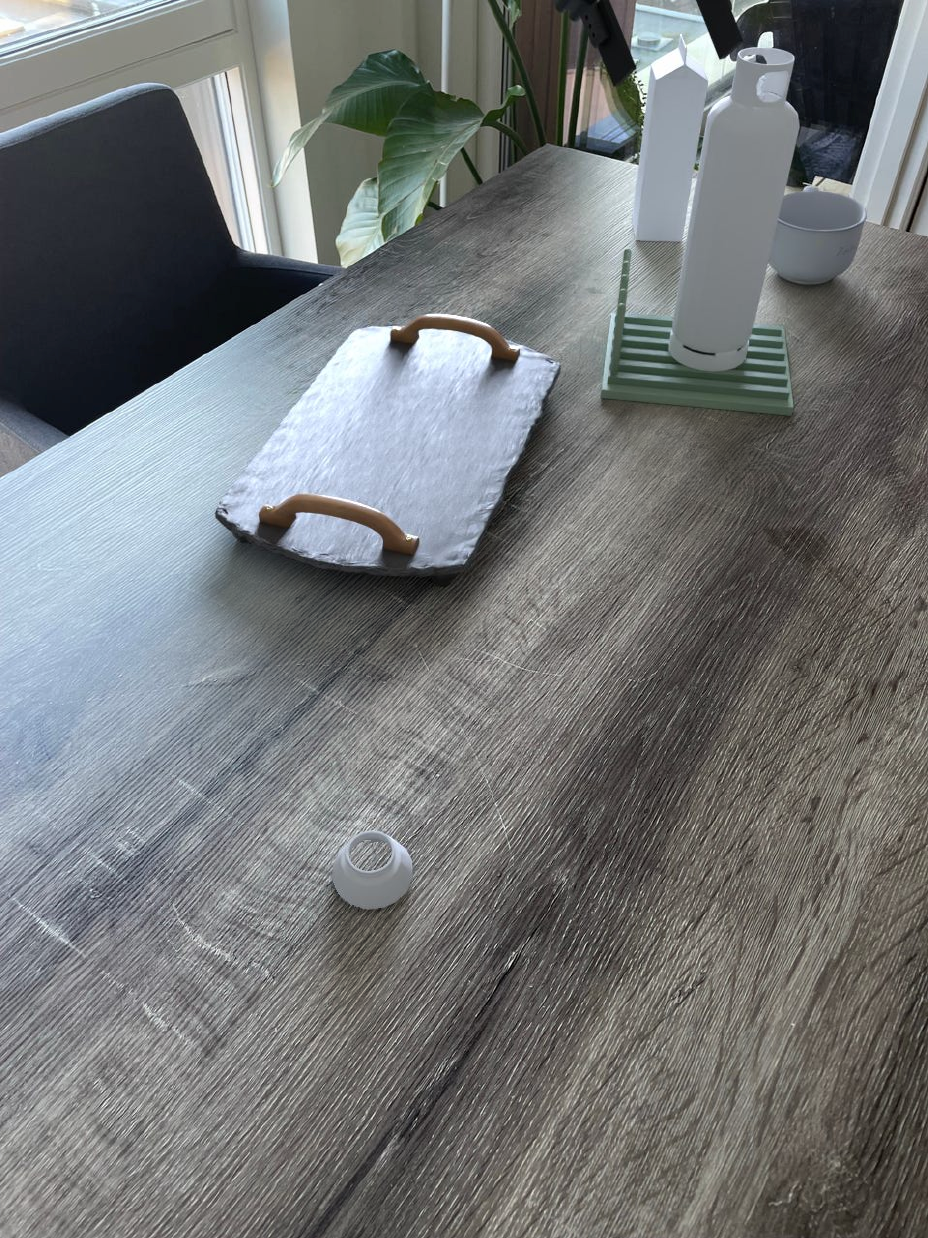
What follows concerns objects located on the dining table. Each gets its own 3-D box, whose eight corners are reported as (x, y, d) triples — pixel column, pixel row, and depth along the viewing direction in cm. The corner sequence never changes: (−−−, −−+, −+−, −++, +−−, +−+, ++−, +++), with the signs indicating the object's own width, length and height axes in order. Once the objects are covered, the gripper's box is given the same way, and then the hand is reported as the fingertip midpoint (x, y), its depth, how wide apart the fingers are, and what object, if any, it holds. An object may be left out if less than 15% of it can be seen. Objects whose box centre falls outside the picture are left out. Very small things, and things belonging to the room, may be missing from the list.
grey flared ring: (411, 840, 65) (334, 844, 65) (409, 814, 63) (330, 818, 63) (414, 910, 62) (332, 915, 61) (412, 885, 59) (328, 890, 59)
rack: (782, 335, 110) (803, 253, 104) (791, 416, 99) (815, 330, 93) (610, 320, 113) (619, 239, 106) (600, 398, 101) (610, 313, 95)
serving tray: (366, 336, 110) (362, 283, 105) (571, 371, 105) (576, 317, 101) (196, 560, 84) (182, 502, 80) (458, 620, 79) (458, 562, 75)
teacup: (845, 300, 116) (865, 233, 110) (750, 285, 118) (765, 219, 113) (852, 249, 125) (871, 185, 120) (765, 236, 128) (779, 173, 122)
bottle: (688, 376, 101) (745, 74, 81) (655, 336, 107) (701, 45, 87) (760, 364, 103) (833, 66, 83) (724, 326, 108) (785, 37, 88)
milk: (676, 222, 131) (707, 33, 115) (682, 242, 127) (715, 49, 111) (630, 220, 131) (654, 32, 115) (634, 241, 127) (660, 48, 111)
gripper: (664, -144, 99) (746, 62, 101) (459, -117, 88) (555, 113, 91) (713, -208, 92) (799, 15, 94) (497, -186, 82) (600, 64, 84)
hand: (680, 64), depth 92 cm, fingers open, 13 cm apart
